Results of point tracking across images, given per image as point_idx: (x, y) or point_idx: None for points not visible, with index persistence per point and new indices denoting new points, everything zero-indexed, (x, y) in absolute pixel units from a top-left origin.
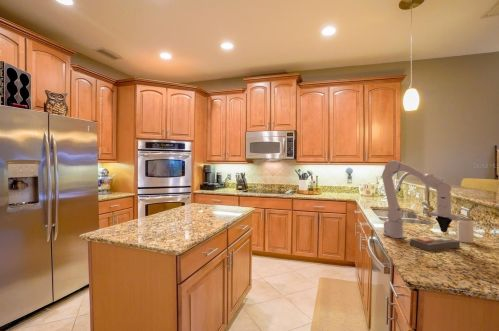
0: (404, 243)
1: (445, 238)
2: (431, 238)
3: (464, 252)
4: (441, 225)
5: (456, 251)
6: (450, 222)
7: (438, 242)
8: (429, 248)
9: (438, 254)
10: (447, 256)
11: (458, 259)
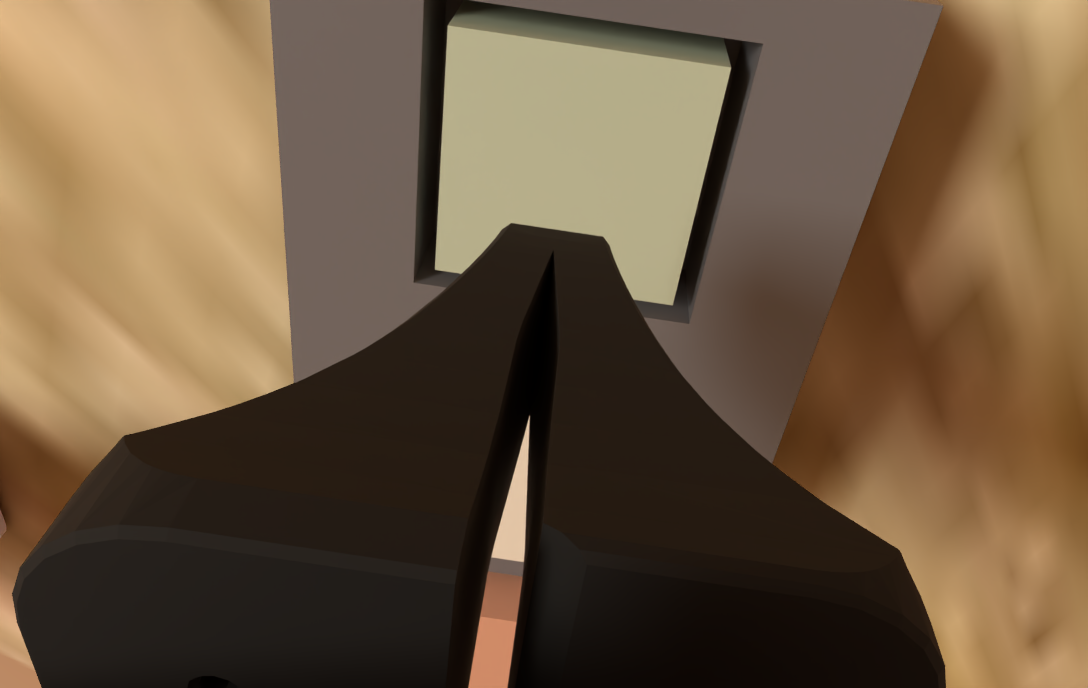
0: None
1: (565, 100)
2: (518, 558)
3: (1078, 286)
4: (492, 547)
5: (944, 353)
6: (776, 485)
7: None
8: None
9: None
10: None
11: (1072, 659)
